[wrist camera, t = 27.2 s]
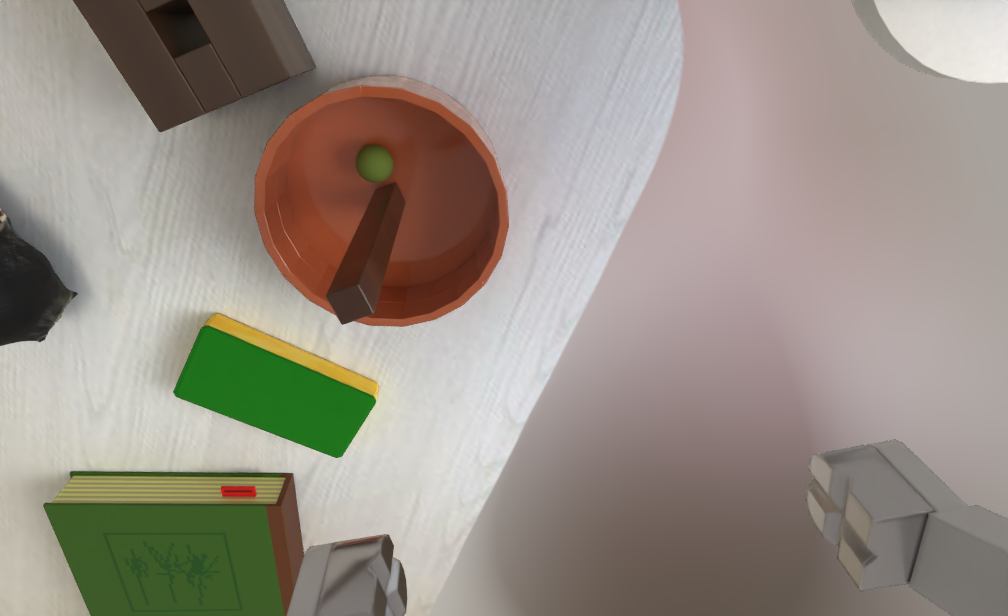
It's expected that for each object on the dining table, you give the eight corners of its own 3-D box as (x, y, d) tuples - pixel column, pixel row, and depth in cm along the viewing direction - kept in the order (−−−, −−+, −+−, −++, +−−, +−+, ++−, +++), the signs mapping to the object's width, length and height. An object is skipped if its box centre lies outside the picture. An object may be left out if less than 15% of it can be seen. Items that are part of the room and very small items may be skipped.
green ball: (402, 166, 37) (399, 155, 35) (380, 194, 37) (374, 184, 35) (374, 144, 37) (368, 131, 35) (351, 171, 37) (344, 160, 35)
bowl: (452, 36, 35) (450, 40, 30) (531, 250, 42) (540, 282, 37) (235, 126, 36) (200, 144, 31) (347, 317, 43) (333, 356, 38)
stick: (396, 181, 38) (358, 283, 24) (406, 202, 39) (374, 314, 25) (374, 189, 38) (324, 295, 24) (384, 210, 39) (341, 325, 25)
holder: (244, -79, 31) (200, -97, 26) (316, 67, 35) (290, 77, 30) (120, -22, 32) (53, -28, 27) (203, 114, 36) (159, 133, 30)
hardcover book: (314, 635, 62) (306, 671, 58) (135, 639, 60) (116, 675, 57) (292, 467, 50) (280, 499, 47) (68, 465, 48) (40, 498, 45)
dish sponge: (345, 440, 49) (339, 460, 47) (184, 377, 45) (170, 396, 43) (381, 383, 46) (377, 401, 44) (214, 310, 42) (201, 326, 40)
